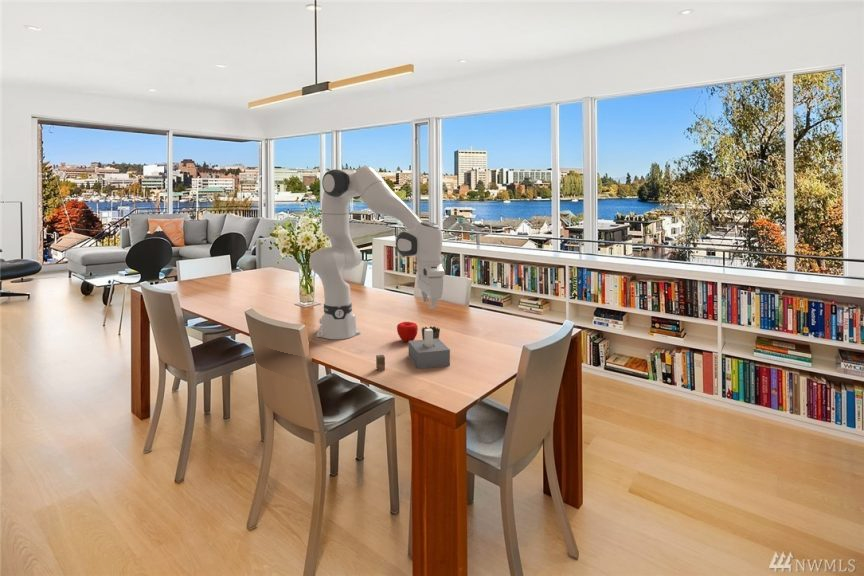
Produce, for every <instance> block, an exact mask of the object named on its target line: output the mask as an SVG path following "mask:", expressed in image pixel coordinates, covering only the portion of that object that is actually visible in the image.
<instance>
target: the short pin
mask: <svg viewBox="0 0 864 576" xmlns="http://www.w3.org/2000/svg"><path fill="white" fill-rule="evenodd" d="M375 356H376V357H375V358H376V360H375V361H376V368H377V369H376V371H377V370H378V371H377V372H383V371H382V370H385V371H386V361H385V360H386V357H385V354H376V355H375Z"/></svg>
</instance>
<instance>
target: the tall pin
mask: <svg viewBox="0 0 864 576" xmlns="http://www.w3.org/2000/svg"><path fill="white" fill-rule="evenodd" d="M424 347H433V330H432V329H428V328H427V329H424Z"/></svg>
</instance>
